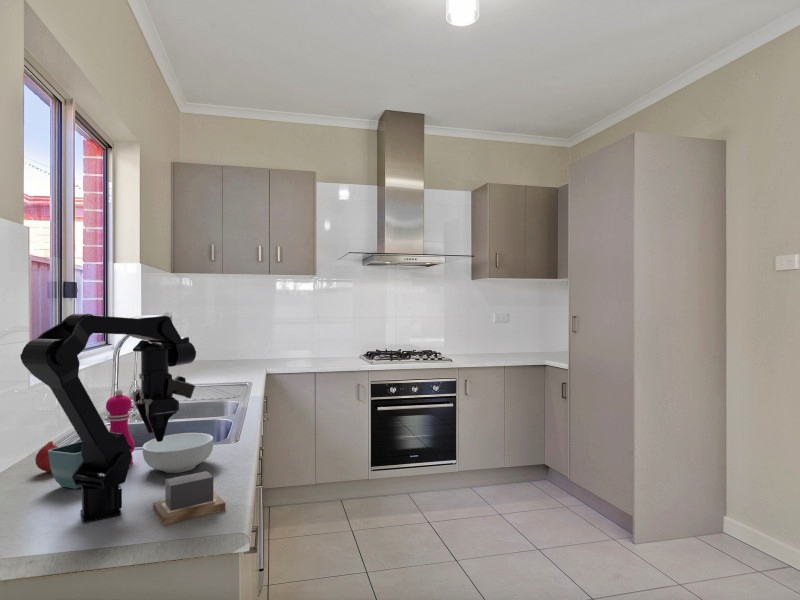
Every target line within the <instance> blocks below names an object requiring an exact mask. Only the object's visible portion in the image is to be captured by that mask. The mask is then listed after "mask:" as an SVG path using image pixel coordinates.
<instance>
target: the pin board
mask: <svg viewBox="0 0 800 600" xmlns="http://www.w3.org/2000/svg"><path fill="white" fill-rule="evenodd" d="M152 504H153V505H152V510H153V512H154V514H155V515H156V517H157V518H158V519H159V521H160V523H161V524H162V526H167V525H171V524H175V523H178V522H182V521H186V520H190V519H194V518H200V517H202V516H207V515H211V514H215V513H218V512H222V511H226V502H225V501H224V500H223V499H222V498H221V497H220V496H219V495H218V494H217V493H216V492H215V491H214V490H213V501H210V502H206V503H202V504H198V505H193V506H189V507H185V508H181V509H177V510H173V511H170V509H169V508H168V507H167V505H166V504H165V499H164V500H160V501H156V502H155V501H154V502H153V503H152Z"/></svg>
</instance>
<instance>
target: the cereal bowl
mask: <svg viewBox="0 0 800 600" xmlns="http://www.w3.org/2000/svg"><path fill="white" fill-rule="evenodd" d="M213 449H214V436H213V435H211V434H208V433H201V432H184V433H183V432H182V433H174V434H169V435H168V434H167V435H164V438H163V441H161V442H157V440H156V438H153V439H150V440H148V441H147V442H145V443H144V444H143V445H142V456H143V460H144V462H145V463H146V464H147V466H148V467H150V468H152V469H154V470H157V471H163V472H164V473H168V474H169V473H170V474H177V473H184V472H188V471H190V470H193V469H195V468H196V467H197V465H200V464H202V463H203V462H205V461H206V460H207V459H208V458H209V457H210V456H211V454H212V452H213Z"/></svg>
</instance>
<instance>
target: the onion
mask: <svg viewBox="0 0 800 600" xmlns="http://www.w3.org/2000/svg"><path fill="white" fill-rule="evenodd" d="M58 447H59V446H58V445H56V444H54V441H53V440H50V441H48V442H47V443H46V444H45V445H44V446H42V447H41V448H40V449H39V450H38V451H37V453H36V456H35V458H34V460H35V465H36V467H37V468H38V469H39V470H41V471H44V472H46V473H49V474H51V473H52V472H51V467H50V461H49V455H48V450H51V449H54V448H58Z"/></svg>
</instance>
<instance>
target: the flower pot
mask: <svg viewBox="0 0 800 600" xmlns="http://www.w3.org/2000/svg"><path fill="white" fill-rule="evenodd" d="M82 445H83V443H82V441H81V440H80V441H76V442H73V443H70V444H69V443H68V444H66V445H61V446H58V448H54V449H51V450H48V455H49V461H50V467H51V472H50V473H51V475H52V476H53V478H54V480H55V481H56V483H58V484H59V486H60V487H64V488H70V489H74V490H75V489H76V490H77V489H79V488H82V485H75V483H74V481H73V478H72V476H73V474H74V473H75V472H76V470H77V469H78V467H79V466H80V465H81V463H82V462H83V458H82V455H81V452H82ZM98 475H101V473H98Z"/></svg>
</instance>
